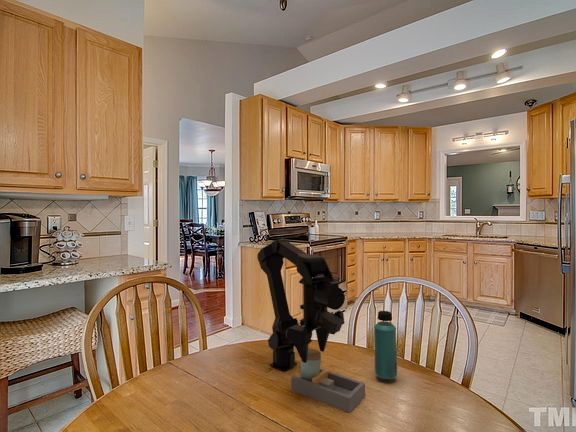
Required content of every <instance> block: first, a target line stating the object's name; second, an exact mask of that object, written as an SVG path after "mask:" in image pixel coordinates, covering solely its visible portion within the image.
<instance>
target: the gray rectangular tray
mask: <svg viewBox="0 0 576 432" xmlns="http://www.w3.org/2000/svg"><path fill="white" fill-rule="evenodd" d="M323 370H324V369H323V368H320V372H322V371H323ZM327 371H328V379H331V380H334V388H333V389H329V388H326V387H324V386H321V385H318V384H315V383H312V382H310V381H307V380H304V379H301V378H299V377H298V376H295V375H292V376H291V377H290V390H291V391H293V392H296V393H298V394H300V395H303V396H306V397H309V398H310V399H313V400H316V401H318V402H320V403H324V404H326V405H329V406H331V407H334V408H336V409H339V410H342V411H344V412H347V413H349V414H351V412H352V411H353V410H354V409H356V407H357V406H358V405H359V404H360V402H361V401H362V400H363V399H365V397H366V382H363V381H360V380H357V379H355V378H351V377H348V376H344V375H343V374H342V375H341V374H339V373H335V372H332V371H329V370H327Z"/></svg>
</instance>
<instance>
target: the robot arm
mask: <svg viewBox="0 0 576 432" xmlns="http://www.w3.org/2000/svg"><path fill="white" fill-rule="evenodd" d="M284 259H286V260H288V261H289V262H291V264H293V265H295V267H296V272H297V273H298V274H299V275H300V276H301V277H302V278H301V279H300V280H299V281H298V283H299V284H300V285H302V304H300V305H299V307H300V310H303V311H302V316H303V317H302V319H300V320H298V319H297V317H296V318H294V317H293V316H292V315H291V313H290V308H289V304H288V299H287V295H286V290H285V289H286V288H285V285H284V281H283V276H282V269H283V266H284ZM257 261H258V263H259V266H260V269H261V270H262V271H263V272H264V273H265V275H266V278H267V282H268V287H269V288H268V289H269V293H270V298H271V303H272V307H273V313H274V317H275V318H274V321H273V323H272V326H271V327H272V334H271V335H270V337H269V338H268V339H267V343H268V348H270V349H271V350H272V359H273V360H272V363H270V364H269V366H270V368H275V369H278V370H280V371H283V372H287V371H288V370H290V369H291V368H293V367H295V366H296V365H297V362H296V353H295V349H296V351H297V353H298V356H299V357H300V361H301V360H302V362H304V363H306V362H307V355H308V349H309V345H310V344H311V343H312V342H313V339H312V337H313V332H314V331H315V335H316V338H317V343H318V348H319V352H323V353H324V352H325V349H326V347H327V346H326V345H327V342H328V339H329V336H330V335H335V334H337V333H338V332H340V331H341V329H342V326H343V325H344V324H345V323H346V322H345V317H344V312H343V311H341V310H339V309H341V308H342V307H343V305H344V303H345V300H346V294H345V292H344V290H343V289H342V288H340V285H339V282H336V281H335V279H334V276H333V274H332V272H331V270H330V267H329V265H328V263H327V261H326V259H325V258H324V257H323V256H321V255H318V254H312V253H308V252H305V251H303V250H302V249H300V248H299V247H297V246H296V245H294V244H292V243H291V242H290V241H289V240H287V239H276V240H273V241H272V242H271V243H270V244H267V245H266V246H264V247H262V248H261V249H260V250H259V251H258V253H257ZM328 309H331V310H334V311H335V312H334V311H331V312H330V311H328ZM298 321H300V324H301V325H299V322H298ZM294 347H295V348H294Z"/></svg>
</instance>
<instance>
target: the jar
mask: <svg viewBox="0 0 576 432" xmlns="http://www.w3.org/2000/svg"><path fill="white" fill-rule="evenodd" d="M321 354H322V353H321V351H320V350H317V349H315V348H308V355H307V362H306V363H304V362H302V360H301V359H300V369H299V377H298V378H301V379H304V380H307V381H310V382H312V378H313V377H315V376H316V375H318V374H319V373H320V369H321V366H322V365H321V363H322V355H321Z"/></svg>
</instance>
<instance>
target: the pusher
mask: <svg viewBox="0 0 576 432" xmlns="http://www.w3.org/2000/svg"><path fill="white" fill-rule="evenodd" d="M328 371H329V370H326V369H323V371H322V372H320V373H319V374H318V375H316V376H315V377H313V378H312V383H315V384H318V385H321V386H324V387H326V388H329V389H333V388H334V380H331V379H328Z"/></svg>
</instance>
